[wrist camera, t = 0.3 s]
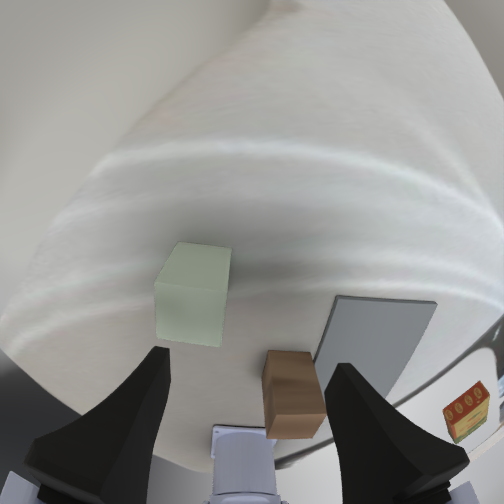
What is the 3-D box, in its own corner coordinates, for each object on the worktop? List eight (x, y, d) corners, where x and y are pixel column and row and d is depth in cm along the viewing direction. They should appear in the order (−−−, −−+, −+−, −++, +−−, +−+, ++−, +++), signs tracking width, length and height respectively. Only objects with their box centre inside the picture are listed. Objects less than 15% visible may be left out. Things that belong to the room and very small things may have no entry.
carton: (479, 378, 29) (491, 394, 26) (479, 407, 35) (487, 421, 31) (440, 409, 31) (451, 427, 27) (447, 432, 36) (455, 446, 32)
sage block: (225, 294, 21) (221, 347, 15) (176, 288, 21) (156, 338, 15) (231, 247, 20) (227, 291, 14) (178, 241, 19) (154, 282, 14)
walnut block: (299, 379, 25) (312, 438, 18) (261, 378, 25) (266, 439, 18) (310, 352, 24) (327, 413, 17) (268, 350, 23) (276, 414, 17)
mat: (381, 398, 27) (382, 401, 27) (295, 404, 26) (296, 407, 26) (435, 301, 22) (437, 304, 22) (336, 295, 21) (338, 298, 21)
